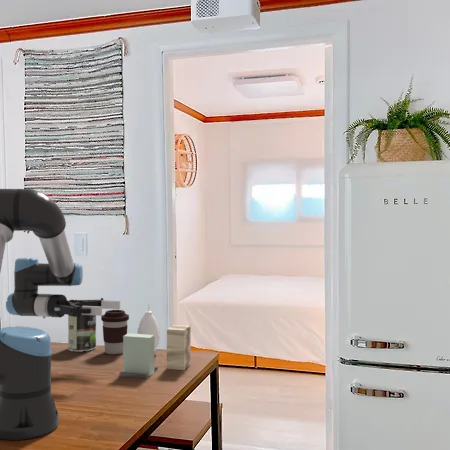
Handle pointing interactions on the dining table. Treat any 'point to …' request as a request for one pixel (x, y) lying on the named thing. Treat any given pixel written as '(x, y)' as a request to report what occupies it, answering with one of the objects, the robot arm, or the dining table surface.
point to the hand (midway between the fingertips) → (111, 308)
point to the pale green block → (138, 353)
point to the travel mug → (114, 330)
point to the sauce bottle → (149, 326)
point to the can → (81, 333)
